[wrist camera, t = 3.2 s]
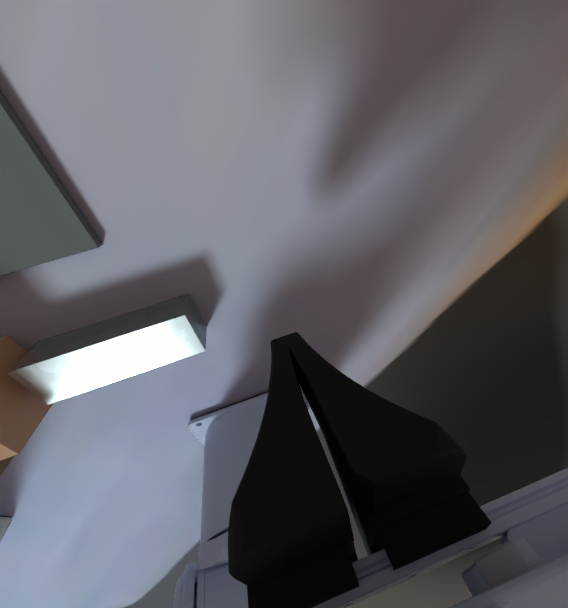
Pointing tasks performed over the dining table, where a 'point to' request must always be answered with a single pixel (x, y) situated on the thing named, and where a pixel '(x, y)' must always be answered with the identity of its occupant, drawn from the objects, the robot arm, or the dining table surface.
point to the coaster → (34, 203)
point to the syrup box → (4, 525)
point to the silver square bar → (112, 350)
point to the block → (16, 403)
